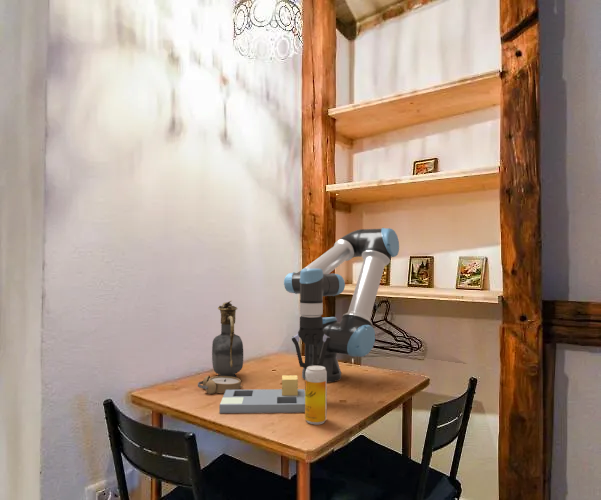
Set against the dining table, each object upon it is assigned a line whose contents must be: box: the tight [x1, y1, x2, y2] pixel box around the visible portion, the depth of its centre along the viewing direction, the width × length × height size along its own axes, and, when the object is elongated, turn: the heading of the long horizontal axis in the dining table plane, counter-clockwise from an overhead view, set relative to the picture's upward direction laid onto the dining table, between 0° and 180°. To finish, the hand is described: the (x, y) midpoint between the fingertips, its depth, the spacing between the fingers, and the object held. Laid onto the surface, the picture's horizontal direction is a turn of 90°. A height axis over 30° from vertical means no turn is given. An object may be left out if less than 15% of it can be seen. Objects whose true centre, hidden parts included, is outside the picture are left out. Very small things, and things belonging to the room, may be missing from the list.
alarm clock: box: [197, 375, 244, 395], centre depth 148 cm, size 11×5×15 cm
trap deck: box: [218, 388, 305, 414], centre depth 133 cm, size 26×15×2 cm, turn 93°
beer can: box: [304, 366, 328, 426], centre depth 120 cm, size 6×6×15 cm
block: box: [281, 374, 299, 395], centre depth 137 cm, size 5×5×5 cm
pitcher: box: [211, 300, 244, 378], centre depth 162 cm, size 11×19×30 cm, turn 18°
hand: (310, 388), depth 138 cm, fingers closed
